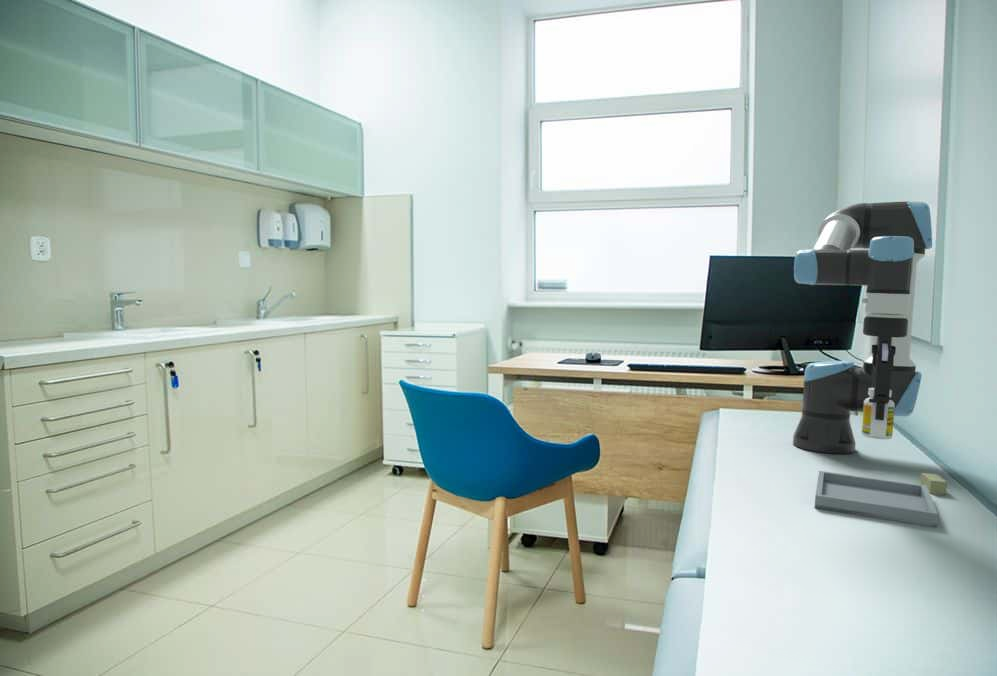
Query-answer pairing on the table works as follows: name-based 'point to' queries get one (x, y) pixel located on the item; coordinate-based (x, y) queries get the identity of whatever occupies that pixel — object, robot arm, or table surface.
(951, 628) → the table surface
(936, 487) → the olive brick
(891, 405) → the supplement bottle
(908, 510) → the slate tray
